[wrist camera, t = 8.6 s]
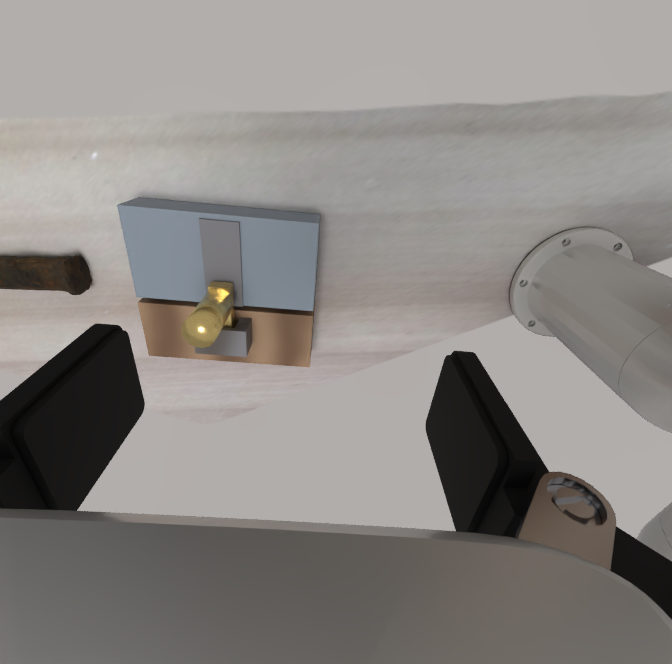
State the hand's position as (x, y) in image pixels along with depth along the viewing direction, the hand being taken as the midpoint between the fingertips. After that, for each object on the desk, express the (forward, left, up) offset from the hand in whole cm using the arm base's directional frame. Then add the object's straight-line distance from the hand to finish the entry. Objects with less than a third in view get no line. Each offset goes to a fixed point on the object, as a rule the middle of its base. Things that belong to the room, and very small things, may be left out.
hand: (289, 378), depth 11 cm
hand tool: (+34, +10, -29) cm, 46 cm away
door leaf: (+9, +6, -28) cm, 30 cm away
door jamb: (+9, +14, -28) cm, 33 cm away
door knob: (+9, +11, -24) cm, 28 cm away
